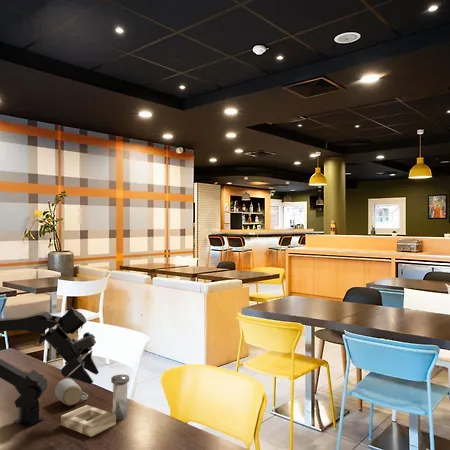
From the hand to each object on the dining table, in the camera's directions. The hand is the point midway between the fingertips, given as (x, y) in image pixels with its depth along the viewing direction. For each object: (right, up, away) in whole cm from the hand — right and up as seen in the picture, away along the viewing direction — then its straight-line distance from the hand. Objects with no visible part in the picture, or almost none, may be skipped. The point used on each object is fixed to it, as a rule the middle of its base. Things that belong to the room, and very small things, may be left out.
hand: (94, 378), depth 138 cm
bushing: (+8, -13, +1) cm, 16 cm away
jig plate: (-1, -13, -5) cm, 14 cm away
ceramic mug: (-13, -14, +14) cm, 23 cm away
